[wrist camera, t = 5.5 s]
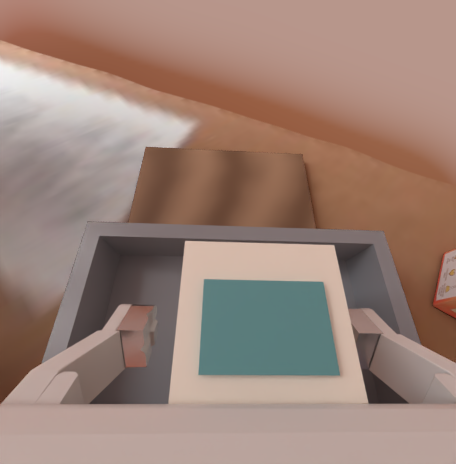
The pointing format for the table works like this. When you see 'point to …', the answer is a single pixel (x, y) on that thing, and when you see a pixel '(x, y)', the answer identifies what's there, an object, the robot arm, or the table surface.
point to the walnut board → (222, 189)
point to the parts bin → (168, 290)
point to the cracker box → (447, 284)
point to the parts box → (263, 327)
